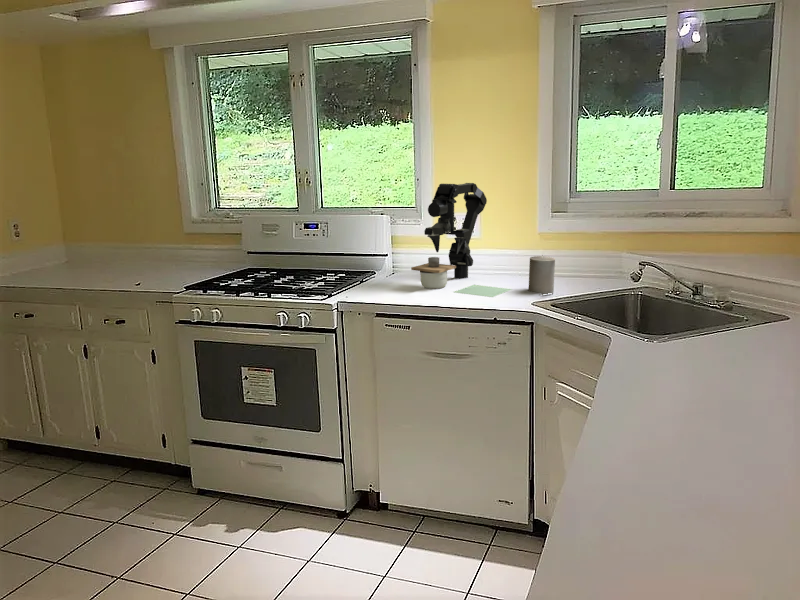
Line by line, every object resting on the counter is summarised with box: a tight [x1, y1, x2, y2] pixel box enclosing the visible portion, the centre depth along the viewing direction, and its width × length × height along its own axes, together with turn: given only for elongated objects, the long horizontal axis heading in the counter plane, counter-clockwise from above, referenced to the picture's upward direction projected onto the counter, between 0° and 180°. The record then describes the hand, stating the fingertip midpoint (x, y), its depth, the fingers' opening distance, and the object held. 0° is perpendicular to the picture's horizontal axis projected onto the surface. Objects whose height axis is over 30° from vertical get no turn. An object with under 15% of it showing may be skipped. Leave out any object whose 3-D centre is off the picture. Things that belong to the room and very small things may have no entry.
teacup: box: [419, 271, 448, 290], centre depth 277 cm, size 14×11×8 cm
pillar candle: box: [527, 254, 556, 294], centre depth 265 cm, size 10×10×15 cm
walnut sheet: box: [411, 256, 456, 273], centre depth 275 cm, size 13×13×4 cm
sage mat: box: [454, 284, 513, 298], centre depth 268 cm, size 17×17×1 cm
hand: (447, 253), depth 283 cm, fingers open, 9 cm apart
